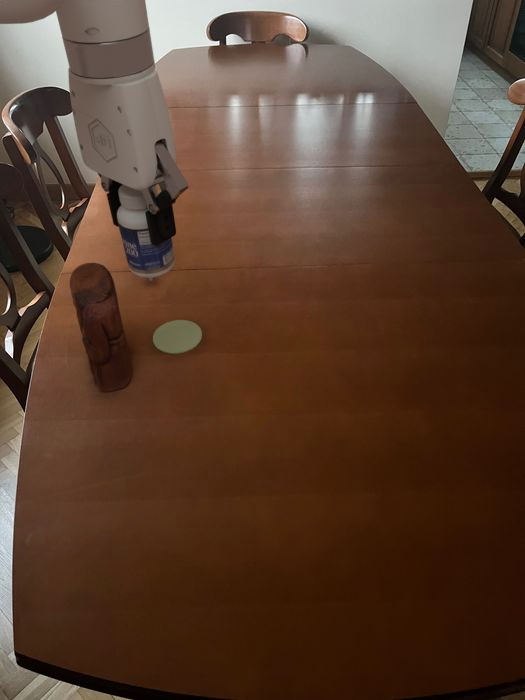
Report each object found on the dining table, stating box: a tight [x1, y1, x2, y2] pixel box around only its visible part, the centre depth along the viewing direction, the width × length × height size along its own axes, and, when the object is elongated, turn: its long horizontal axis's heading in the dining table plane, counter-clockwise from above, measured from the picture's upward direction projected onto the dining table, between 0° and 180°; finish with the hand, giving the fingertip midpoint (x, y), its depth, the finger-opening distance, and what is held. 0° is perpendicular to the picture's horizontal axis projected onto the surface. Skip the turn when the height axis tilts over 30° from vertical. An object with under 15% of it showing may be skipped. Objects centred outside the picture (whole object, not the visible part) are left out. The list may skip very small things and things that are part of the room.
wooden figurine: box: [69, 262, 133, 393], centre depth 85 cm, size 12×6×18 cm, turn 16°
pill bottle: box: [117, 185, 176, 279], centre depth 65 cm, size 5×5×10 cm
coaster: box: [152, 319, 203, 355], centre depth 96 cm, size 8×8×1 cm
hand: (144, 228), depth 65 cm, fingers closed on pill bottle, 5 cm apart
